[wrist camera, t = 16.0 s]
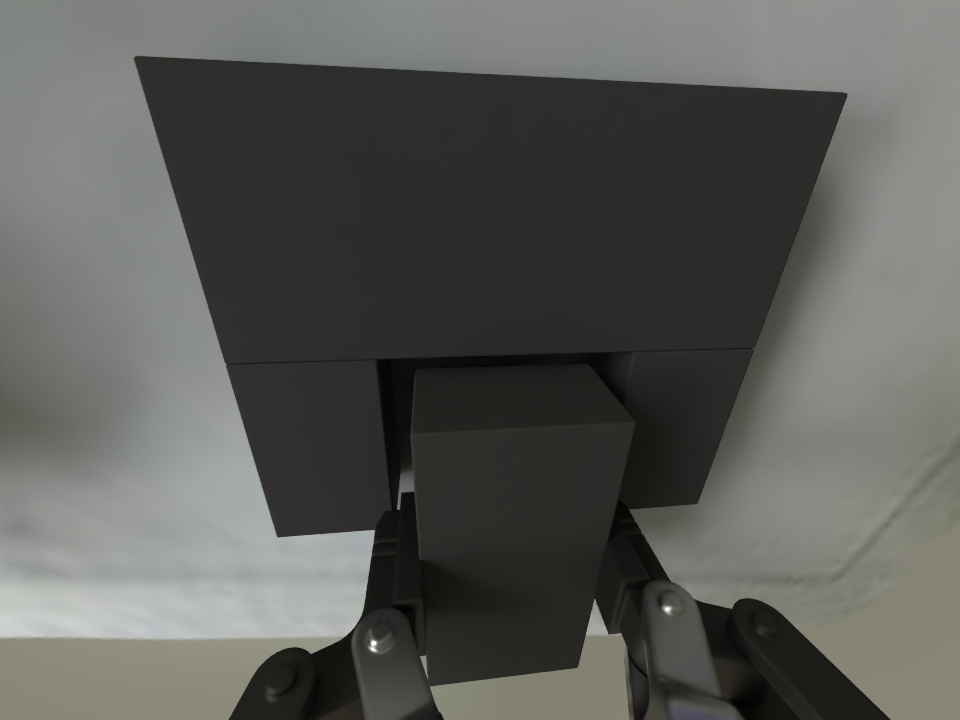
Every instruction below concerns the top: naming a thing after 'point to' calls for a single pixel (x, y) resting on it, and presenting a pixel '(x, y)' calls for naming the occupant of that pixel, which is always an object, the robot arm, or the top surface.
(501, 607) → the black rectangular block
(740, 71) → the top surface
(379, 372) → the base pad
